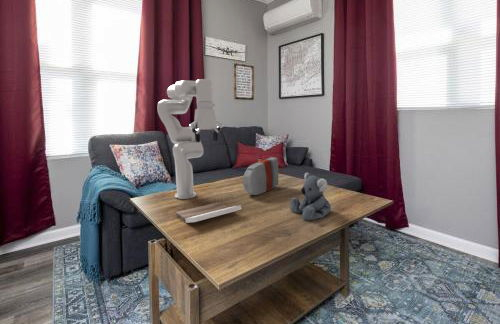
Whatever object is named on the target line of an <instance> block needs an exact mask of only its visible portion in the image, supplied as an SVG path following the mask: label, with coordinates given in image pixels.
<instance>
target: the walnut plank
mask: <svg viewBox="0 0 500 324" xmlns="http://www.w3.org/2000/svg"><path fill="white" fill-rule="evenodd" d="M228 207H229V206H228V205H226V204H224V203H222V202H219V201H217V202H211V203H209V204H208V203H207V204H205V205H200V206H195V207H192V208H186V209H183V210H179V211H175V217H176V216H177V219H179V218H180V219H179V220H181V221H182V220H183V221H184V223H186V221H185V218H189V217H193V216H197V215H201V214H205V213H209V212H213V211H216V210H220V209H224V208H228ZM183 221H182V222H183Z"/></svg>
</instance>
